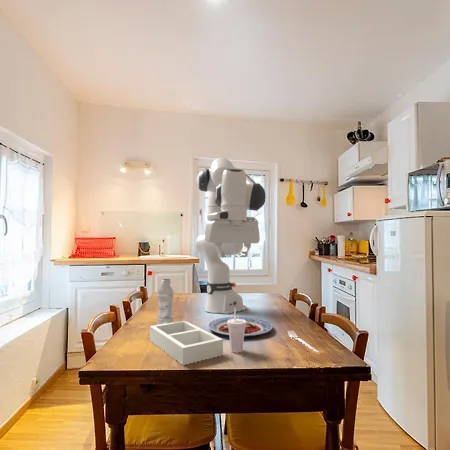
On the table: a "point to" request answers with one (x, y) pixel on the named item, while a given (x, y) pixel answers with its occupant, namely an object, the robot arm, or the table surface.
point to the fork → (300, 340)
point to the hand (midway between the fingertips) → (233, 256)
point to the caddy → (186, 342)
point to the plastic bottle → (165, 302)
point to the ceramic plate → (251, 328)
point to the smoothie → (236, 333)
